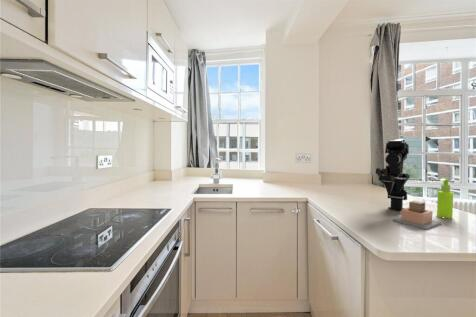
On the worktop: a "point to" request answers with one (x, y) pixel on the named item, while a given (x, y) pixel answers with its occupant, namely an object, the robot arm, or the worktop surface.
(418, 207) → the walnut block
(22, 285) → the worktop surface
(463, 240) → the worktop surface
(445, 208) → the soap dispenser
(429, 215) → the terracotta well
